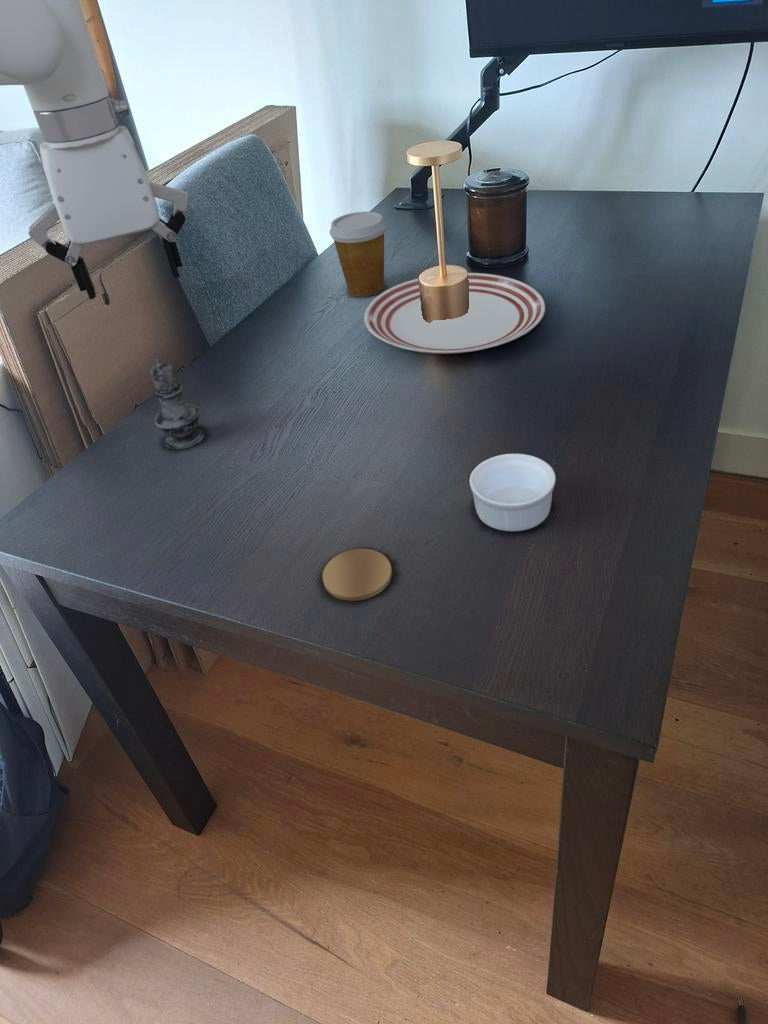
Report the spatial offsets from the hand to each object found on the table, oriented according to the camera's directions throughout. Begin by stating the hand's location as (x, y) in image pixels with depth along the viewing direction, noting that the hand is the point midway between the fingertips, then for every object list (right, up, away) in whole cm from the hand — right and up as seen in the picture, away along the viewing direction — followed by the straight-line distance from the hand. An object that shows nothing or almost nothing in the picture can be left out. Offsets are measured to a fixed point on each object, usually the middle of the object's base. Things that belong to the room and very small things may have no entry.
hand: (134, 284), depth 88 cm
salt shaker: (+2, -17, +14) cm, 22 cm away
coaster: (+26, -33, -11) cm, 43 cm away
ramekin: (+43, -26, -6) cm, 50 cm away
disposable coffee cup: (+26, +13, +45) cm, 54 cm away
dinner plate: (+40, +2, +30) cm, 50 cm away
